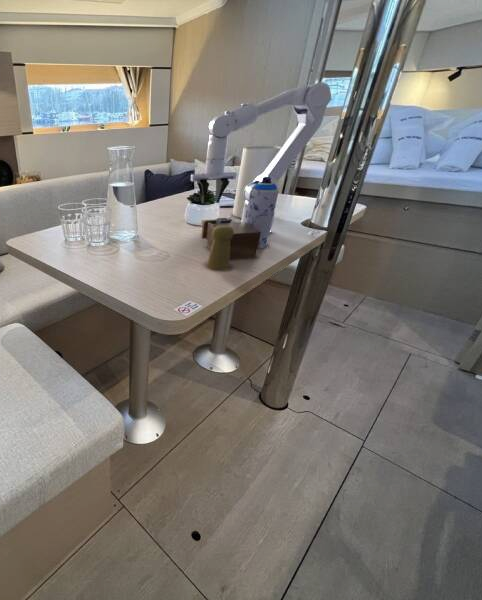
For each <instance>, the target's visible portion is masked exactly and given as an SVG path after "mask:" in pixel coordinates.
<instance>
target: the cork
mask: <svg viewBox="0 0 482 600" xmlns="http://www.w3.org/2000/svg"><path fill="white" fill-rule="evenodd" d="M233 234H234V231H233V229H232V228H231V227H229V226H217V227H215V228H214V229H213V232H212V236H213V238H214V240H213V244H212V247H211V251H210V250H209V255H208V258H207V261H206V268H208V269H210V270H212V271H227V270H229V269H230V268H231V267H230V266H231V265H230V263H231V262H230V261H231V259H230V240H231V239H232V237H233Z"/></svg>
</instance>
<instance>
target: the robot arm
mask: <svg viewBox="0 0 482 600" xmlns="http://www.w3.org/2000/svg"><path fill="white" fill-rule="evenodd" d="M331 101H332V91H331V87H330V85H329V84H328V83H326V82H324V81H320V82H317V83H312V84H304V85H301V86H299V87H295V88H291V89H287V90H286V91H283V92H281V93H278V94H276V95H275V96H273V97H270V98H268V99H266V100H264V101H261V102H259V103H258V104H254V103H252V102H249V103H248V102H243V103H241V104H240V106H239V107H237V108H235V109H232V110H231V111H230V110H225V111H224V114H223V115H217V116H215V117H214V118H212V119H211V120H210V122H209V125H208V126H207V132H208V135H209V137H208V138H209V139H208V143H207V153H206V161H205V167H204V168H205V169H204V172H203V173H195V174H193V173H192V174H190V182H196V184H197V187H198V189H199V193H200V203H201V204H203V205H205V204H207V197H208V190H209V187H210V183H209V182H208V181H215V195H214V203H217V204H219V203H220V201H221V198H222V196H223V194H224V192H225V191H226V189H227V187H228V186H229V185H230V180H237V176H238V173H237V172H235V171H231V172H230V171H229V172H226V171H225V165H226V158H227V151H228V146H229V145H228V144H229V143H228V142H229V137H230V135H231V134H232V133H234V132H236V131H240V130H241V129H243V128H246V127H249V126H251V125H254V124H255V123H256V121H257V120H258V118H259V117H260V116H263V115H266V114H268V113H271V112H274V111H277V110H278V109H281V108H284V107H292V109H293V111H294V113H295V114H296V116H297V122H298V124H297V126H296V127H295V129H294V130H293V132H292V133H291V134H290V136H289V137H288V139H287V140H286V141H285V143H284V144H283V145H282V147H281V149H280V151H279V152H278V154H277V155H276V156H275V158H274V159H273V160H272V162H271V163H270V164H269V166H268V167H267V168H266V170H265V171H264V173H263V174H261V175H259V176H258V177H256V179H255V180H254V181H253V182H252V183H250V184H249V185H248V186H247V187H246V188H245V190H244V198H245V199H246V201H245V203H244V209H243V214H242V218H241V221H240V222H245V217H246V211H247V206H248V201H249V195H250V190H251V188H252V187H254V185H255V184H257V183H259V182H262V178H263V177H270V178H271V182H273V183H274V184H275V185H276V186H277V188H278V189H279V180H280V179H281V178H282V177H283V175H285V173H286V171H287V170H288V169H289V167H290V166H291V165H292V164H293V163H294V161H295V160H296V158H297V157H298V156H299V155H300V153H301V152H302V150H303V149H304V148H305V147H306V146H307V144H308V143H309V141H310V140H311V139H312V138H313V136H314V135H315V134H316V132H317V131H318V130H319V129H320V127H321V125H322V123H323V120H324V117H325V114H326V109H327V107H328V105H329V104H330V102H331ZM274 218H275V213H274V214H273V218H272V223H271V227H270V231H269V234H272V232H273V231H272V227H273V222H274Z"/></svg>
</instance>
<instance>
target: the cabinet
mask: <svg viewBox="0 0 482 600" xmlns="http://www.w3.org/2000/svg"><path fill="white" fill-rule="evenodd" d="M217 226H229V227H231V228H232V229H233V231H234V234H233V237H232V239H231V240H230V260H242V259H255V258H256V257H257V252H258V249H259V248H258V244H259V239H260V234H261V232H260V231H258V230H257V229H255V228H253V227H251V226H250V225H248V224H246V223H244V222H241V221H232V222H230V223H216V224H210V229H209V236H208V240H207V244H206V248H207V249H208V250H209V252H210V251H211V247H212V244H213V240H214V238H213V236H212V232H213V229H214V228H215V227H217Z"/></svg>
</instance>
